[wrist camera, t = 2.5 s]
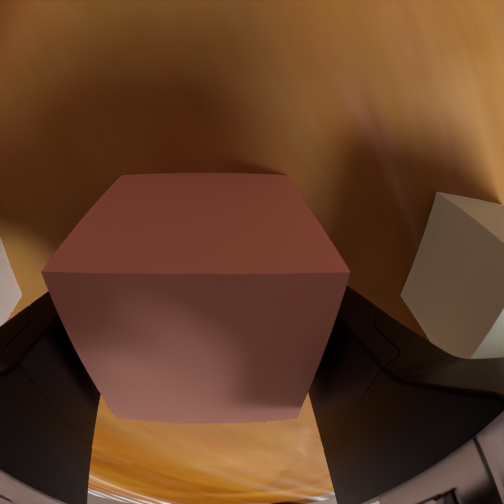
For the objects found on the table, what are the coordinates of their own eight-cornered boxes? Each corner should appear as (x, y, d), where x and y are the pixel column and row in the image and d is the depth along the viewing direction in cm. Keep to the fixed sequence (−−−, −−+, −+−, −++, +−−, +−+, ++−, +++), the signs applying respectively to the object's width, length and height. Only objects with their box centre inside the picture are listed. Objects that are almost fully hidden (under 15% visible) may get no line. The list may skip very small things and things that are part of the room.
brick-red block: (286, 174, 9) (350, 272, 4) (270, 301, 11) (296, 417, 7) (122, 174, 8) (41, 271, 4) (141, 301, 11) (116, 417, 6)
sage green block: (500, 203, 10) (570, 260, 6) (466, 287, 13) (516, 351, 8) (435, 190, 9) (526, 264, 5) (399, 294, 12) (452, 380, 8)
